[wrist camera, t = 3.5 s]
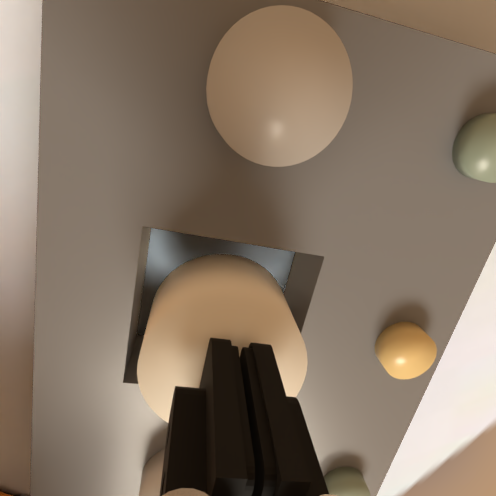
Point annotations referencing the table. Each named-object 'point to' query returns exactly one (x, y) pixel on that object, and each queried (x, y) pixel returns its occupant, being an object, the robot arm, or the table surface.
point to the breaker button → (215, 325)
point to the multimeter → (4, 494)
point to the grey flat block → (253, 212)
